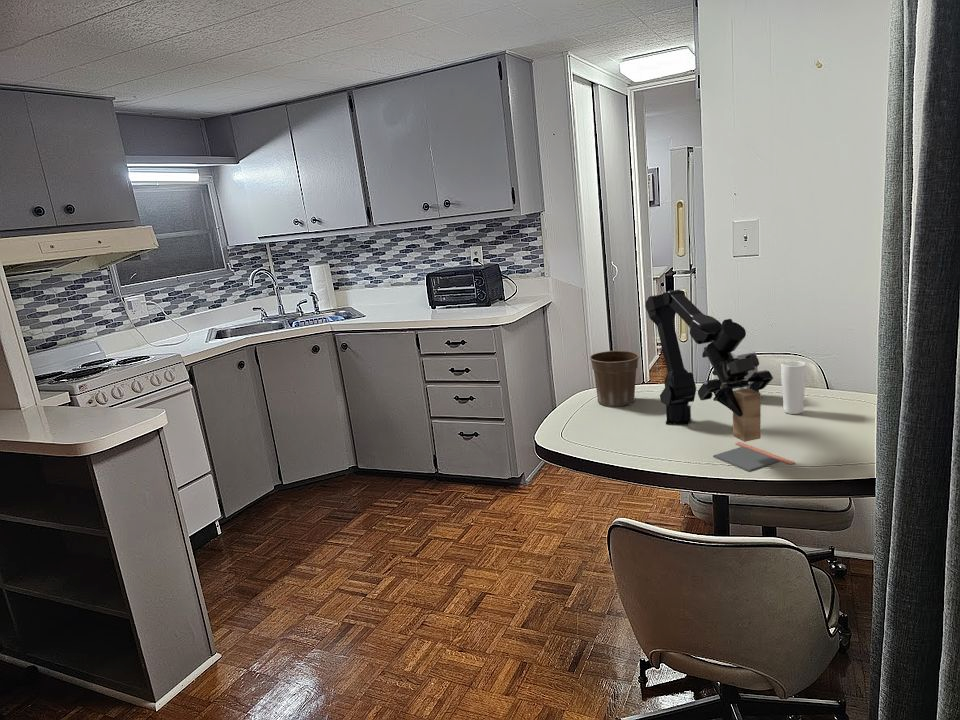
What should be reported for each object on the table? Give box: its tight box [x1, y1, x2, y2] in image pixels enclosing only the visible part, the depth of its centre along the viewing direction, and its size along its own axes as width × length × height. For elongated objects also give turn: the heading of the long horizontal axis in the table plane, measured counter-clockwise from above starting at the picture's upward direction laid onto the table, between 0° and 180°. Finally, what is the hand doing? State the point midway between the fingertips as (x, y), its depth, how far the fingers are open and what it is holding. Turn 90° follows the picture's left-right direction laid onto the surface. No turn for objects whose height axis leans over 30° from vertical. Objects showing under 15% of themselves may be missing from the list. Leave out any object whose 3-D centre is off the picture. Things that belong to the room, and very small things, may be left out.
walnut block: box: [732, 388, 762, 443], centre depth 167 cm, size 5×5×12 cm
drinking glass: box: [780, 360, 807, 415], centre depth 198 cm, size 7×7×15 cm
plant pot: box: [589, 350, 640, 408], centre depth 224 cm, size 16×16×16 cm
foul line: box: [735, 441, 796, 466], centre depth 172 cm, size 18×2×1 cm, turn 24°
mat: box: [712, 446, 780, 472], centre depth 170 cm, size 12×10×1 cm
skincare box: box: [731, 347, 760, 392], centre depth 215 cm, size 8×7×16 cm
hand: (749, 414), depth 166 cm, fingers closed on walnut block, 5 cm apart
